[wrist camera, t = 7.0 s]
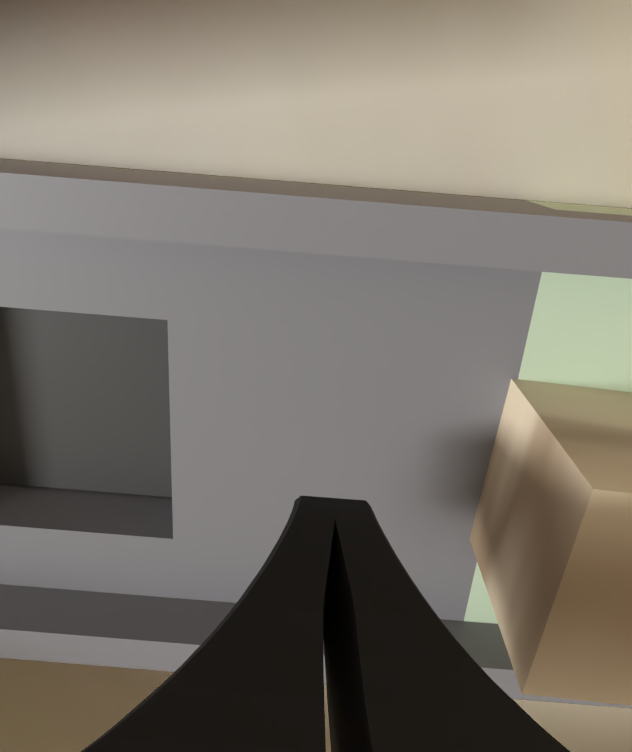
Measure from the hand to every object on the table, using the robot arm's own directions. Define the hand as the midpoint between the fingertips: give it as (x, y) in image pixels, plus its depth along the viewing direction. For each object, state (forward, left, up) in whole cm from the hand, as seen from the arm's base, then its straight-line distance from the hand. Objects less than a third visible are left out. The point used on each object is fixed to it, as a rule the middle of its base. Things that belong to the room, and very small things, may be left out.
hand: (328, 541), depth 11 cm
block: (0, -6, -3) cm, 7 cm away
